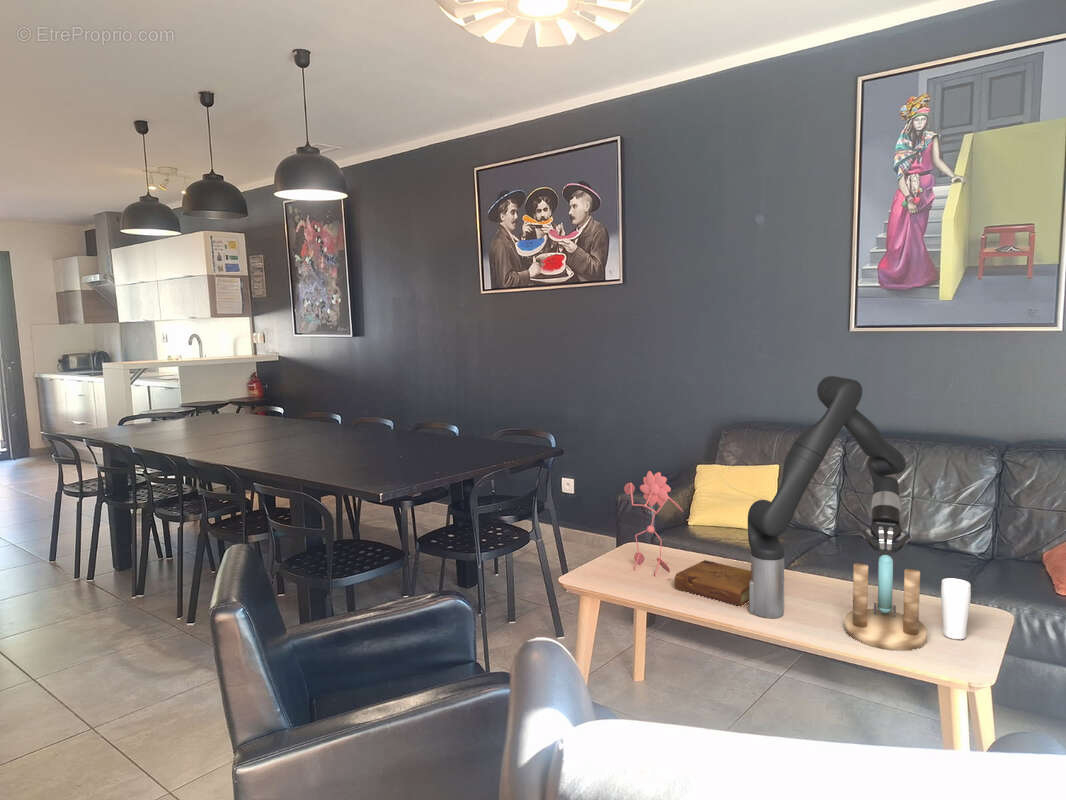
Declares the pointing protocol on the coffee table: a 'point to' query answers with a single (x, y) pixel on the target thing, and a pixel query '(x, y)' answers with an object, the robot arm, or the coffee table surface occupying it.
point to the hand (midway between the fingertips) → (885, 563)
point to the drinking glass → (955, 607)
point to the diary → (716, 582)
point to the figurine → (653, 493)
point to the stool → (886, 615)
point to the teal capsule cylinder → (885, 584)
